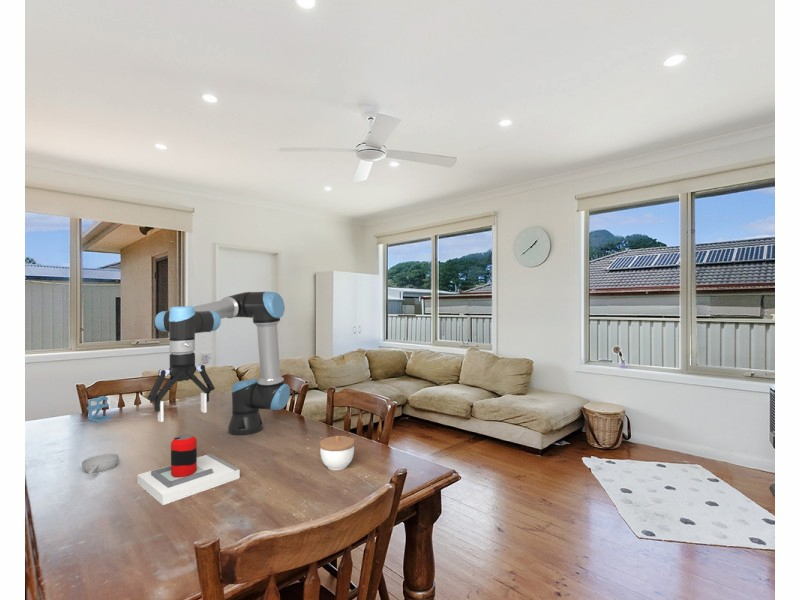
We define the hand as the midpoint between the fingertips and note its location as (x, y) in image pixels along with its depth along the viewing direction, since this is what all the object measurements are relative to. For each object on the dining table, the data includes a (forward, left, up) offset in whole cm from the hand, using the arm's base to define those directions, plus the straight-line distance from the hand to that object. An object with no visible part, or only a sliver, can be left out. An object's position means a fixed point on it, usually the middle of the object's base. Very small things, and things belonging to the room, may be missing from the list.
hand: (183, 416), depth 136 cm
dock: (-2, 0, -22) cm, 22 cm away
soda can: (0, 0, -19) cm, 19 cm away
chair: (-2, -110, -22) cm, 112 cm away
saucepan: (+16, -32, -22) cm, 42 cm away
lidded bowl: (-42, +29, -22) cm, 56 cm away
